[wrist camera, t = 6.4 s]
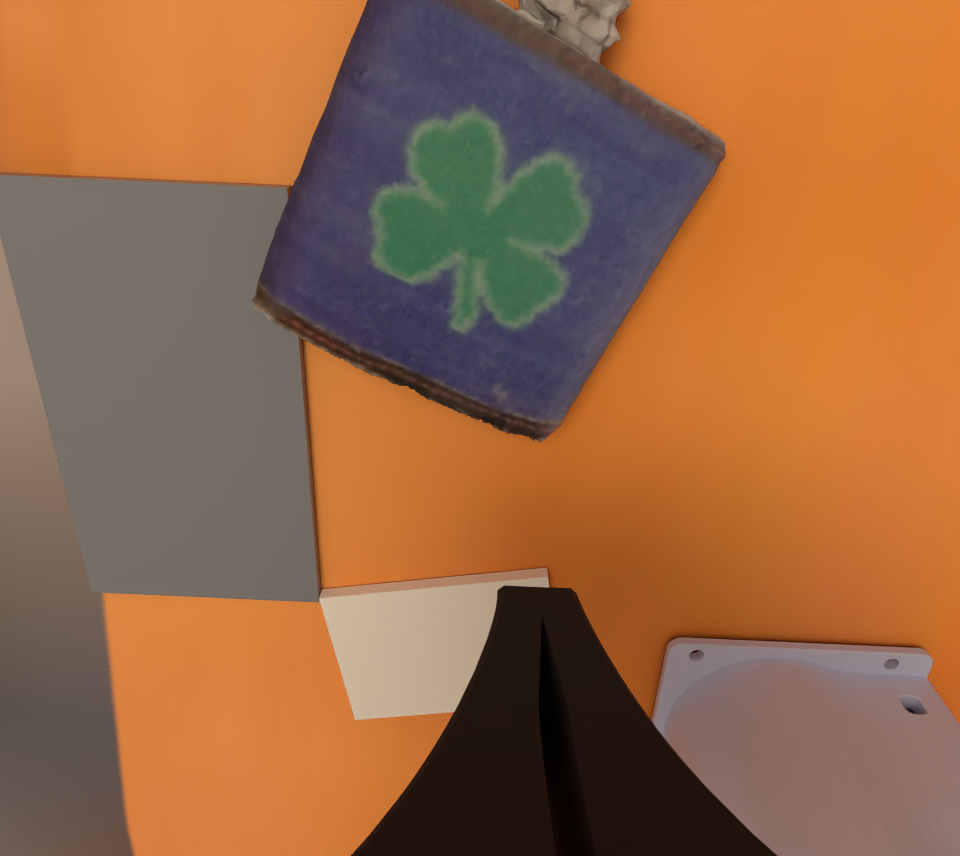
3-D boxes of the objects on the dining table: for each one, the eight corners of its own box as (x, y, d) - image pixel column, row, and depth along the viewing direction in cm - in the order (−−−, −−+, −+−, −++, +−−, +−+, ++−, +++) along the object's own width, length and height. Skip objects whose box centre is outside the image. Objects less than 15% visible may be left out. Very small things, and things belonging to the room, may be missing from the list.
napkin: (547, 567, 25) (547, 576, 25) (561, 692, 28) (562, 703, 27) (321, 589, 26) (318, 598, 25) (357, 709, 28) (355, 720, 28)
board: (291, 185, 20) (287, 187, 19) (321, 594, 26) (318, 602, 25) (-7, 172, 20) (-16, 174, 19) (96, 584, 26) (91, 592, 25)
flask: (547, 418, 22) (759, 72, 18) (557, 464, 20) (806, 72, 16) (263, 282, 20) (425, -136, 16) (230, 313, 18) (414, -177, 14)
